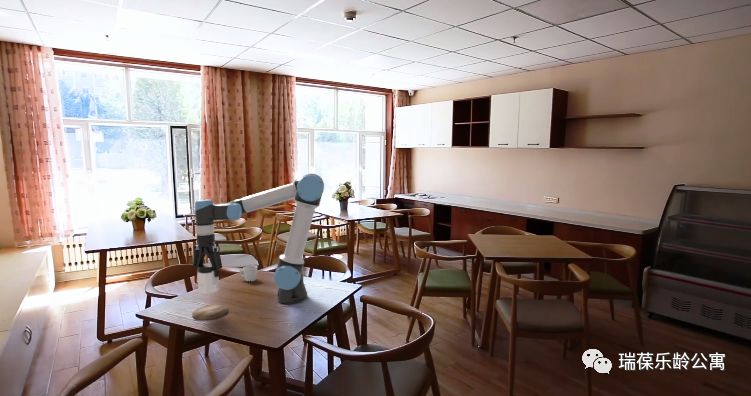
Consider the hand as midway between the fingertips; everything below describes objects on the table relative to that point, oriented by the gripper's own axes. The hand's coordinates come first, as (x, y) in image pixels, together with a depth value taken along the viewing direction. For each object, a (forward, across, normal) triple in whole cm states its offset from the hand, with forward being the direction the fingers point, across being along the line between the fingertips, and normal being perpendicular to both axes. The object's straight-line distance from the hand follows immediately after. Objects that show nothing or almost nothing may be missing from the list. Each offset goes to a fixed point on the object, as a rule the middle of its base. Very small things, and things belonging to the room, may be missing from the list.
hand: (208, 282), depth 177 cm
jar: (+4, 0, 0) cm, 4 cm away
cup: (+15, +17, -46) cm, 51 cm away
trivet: (+14, 0, 0) cm, 14 cm away
